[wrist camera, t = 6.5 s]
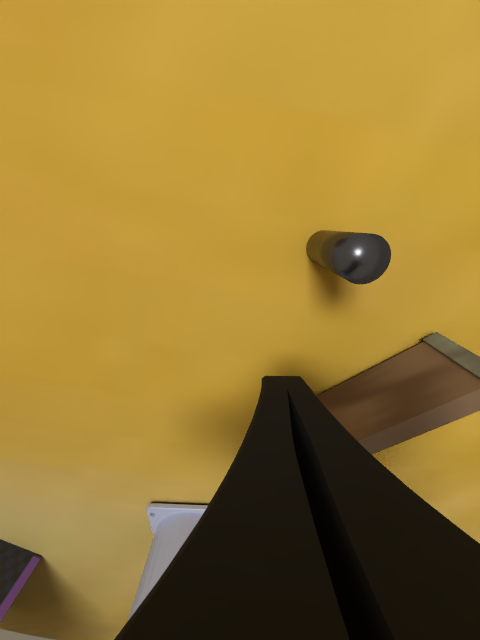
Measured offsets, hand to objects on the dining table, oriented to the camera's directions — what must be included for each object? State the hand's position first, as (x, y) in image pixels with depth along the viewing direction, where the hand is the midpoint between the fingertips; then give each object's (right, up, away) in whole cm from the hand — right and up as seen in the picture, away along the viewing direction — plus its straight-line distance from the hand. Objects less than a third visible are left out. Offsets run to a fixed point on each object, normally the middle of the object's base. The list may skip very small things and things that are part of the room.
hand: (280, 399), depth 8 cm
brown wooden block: (+7, -1, +6) cm, 9 cm away
